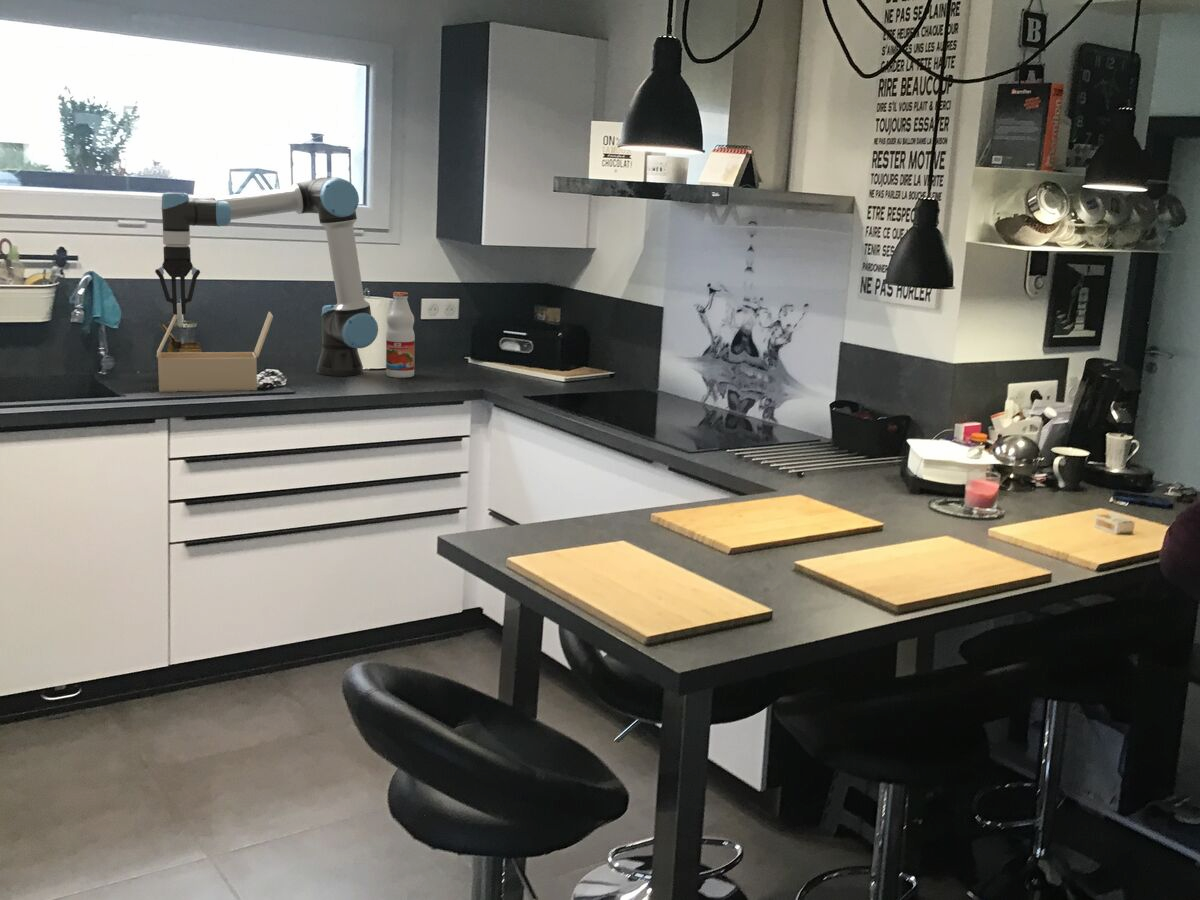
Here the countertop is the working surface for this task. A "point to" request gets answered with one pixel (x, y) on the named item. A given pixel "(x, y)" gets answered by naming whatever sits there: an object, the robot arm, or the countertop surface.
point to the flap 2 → (263, 334)
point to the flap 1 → (166, 335)
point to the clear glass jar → (177, 344)
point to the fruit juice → (400, 338)
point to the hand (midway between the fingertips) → (179, 325)
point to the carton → (207, 371)
